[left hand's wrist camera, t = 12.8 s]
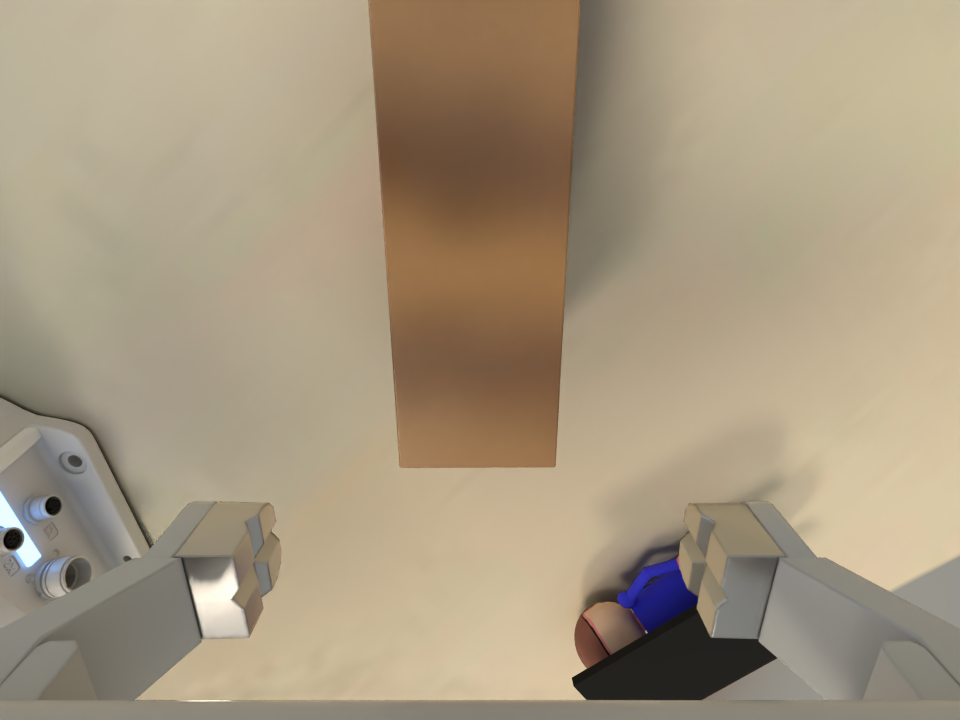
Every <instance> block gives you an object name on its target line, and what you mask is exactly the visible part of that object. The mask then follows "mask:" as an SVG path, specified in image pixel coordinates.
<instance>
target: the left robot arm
mask: <svg viewBox="0 0 960 720" xmlns="http://www.w3.org/2000/svg"><path fill="white" fill-rule="evenodd" d="M77 456H78V457H79V458H80V459H81V460H80V459H79V458H78V457H77ZM275 522H276V517H275V512H274V507H273V506H272V505H271V504H270V503H258V502H192V503H189V504H187V505H186V506H185V508H184V509H183V510H182V511H181V512H180V514H179V515H178V516H177V517H176V518H175V520H174V521H173V522H172V523H171V524H170V526H169V527H168V528H167V529H166V530H165V532H164V533H163V534H162V535H161V536H160V538H159V539H158V540H157V541H156V542H155V544H154V545H153V546H152V547H151V548H149V546H148V544H147V542H146V540H145V538H144V536H143V534H142V532H141V530H140V528H139V526H138V524H137V522H136V520H135V518H134V516H133V514H132V512H131V510H130V508H129V506H128V504H127V502H126V500H125V498H124V496H123V494H122V492H121V490H120V488H119V486H118V484H117V482H116V480H115V478H114V476H113V474H112V472H111V470H110V468H109V466H108V464H107V462H106V460H105V458H104V456H103V454H102V452H101V450H100V448H99V446H98V444H97V442H96V440H95V439H94V437H93V435H92V434H91V433H90V431H89V430H88V429H86V428H85V427H83V426H82V425H80V424H77V423H74V422H71V421H67V420H63V419H57V418H52V417H45V416H39V415H36V414H33V413H31V412H28V411H26V410H24V409H22V408H20V407H18V406H16V405H14V404H12V403H10V402H8V401H6V400H4V399H2V398H0V720H960V629H959V628H957V627H955V626H953V625H951V624H949V623H948V622H946V621H944V620H942V619H940V618H938V617H936V616H934V615H932V614H931V613H929V612H927V611H925V610H923V609H921V608H919V607H917V606H916V605H914V604H912V603H910V602H908V601H906V600H904V599H902V598H900V597H899V596H897V595H895V594H893V593H891V592H889V591H887V590H885V589H884V588H882V587H880V586H878V585H876V584H874V583H872V582H870V581H869V580H867V579H865V578H863V577H861V576H859V575H857V574H855V573H853V572H852V571H850V570H848V569H846V568H844V567H842V566H840V565H838V564H837V563H835V562H833V561H831V560H829V559H827V558H817V557H816V556H815V554H814V553H813V552H812V551H811V550H810V548H809V547H808V546H807V545H806V544H805V542H804V541H803V540H802V539H801V538H800V536H799V535H798V534H797V533H796V532H795V530H794V529H793V528H792V527H791V526H790V524H789V523H788V522H787V521H786V520H785V519H784V517H783V516H782V515H781V514H780V513H779V511H778V510H777V509H776V508H775V507H774V505H773V504H771V503H769V502H767V501H758V502H740V503H689V504H688V506H687V508H686V511H685V516H684V522H685V524H686V526H687V528H688V530H689V532H688V533H687V534H686V535H685V536H684V537H683V538H682V539H681V540H680V548H679V562H680V570H681V573H682V577H683V580H684V582H685V584H686V587H687V589H688V590H689V591H691V592H692V593H693V594H695V595H696V596H697V597H699V598H698V603H697V610H698V612H699V614H700V616H701V618H702V620H703V622H704V625H705V627H706V629H707V631H708V633H709V635H710V637H711V638H739V639H759V640H758V641H759V642H760V643H761V644H762V645H763V646H764V647H765V648H767V649H768V650H769V651H770V652H771V653H772V654H773V655H775V656H776V657H777V658H778V659H779V660H780V661H782V662H783V663H784V664H785V665H786V666H787V667H788V668H790V669H791V670H792V671H793V672H794V673H795V674H796V675H798V676H799V677H800V678H801V679H802V680H803V681H804V682H806V683H807V684H808V685H809V686H810V687H811V688H813V689H814V690H815V691H816V692H817V693H818V694H819V695H821V696H822V697H823V698H824V699H825V700H135V699H136V698H137V697H138V696H140V695H141V694H142V693H143V692H144V691H145V690H146V689H148V688H149V687H150V686H151V685H152V684H153V683H155V682H156V681H157V680H158V679H159V678H160V677H161V676H163V675H164V674H165V673H166V672H167V671H168V670H170V669H171V668H172V667H173V666H174V665H175V664H176V663H178V662H179V661H180V660H181V659H182V658H183V657H184V656H186V655H187V654H188V653H189V652H190V651H191V650H193V649H194V648H195V647H196V646H197V645H198V644H199V643H201V639H220V638H249V637H250V635H251V633H252V631H253V629H254V627H255V625H256V623H257V620H258V618H259V616H260V614H261V612H262V610H263V603H262V598H261V597H263V596H264V595H265V594H267V593H268V592H269V591H271V590H272V589H273V587H274V584H275V582H276V580H277V578H278V573H279V568H280V564H281V547H280V540H279V539H278V538H277V537H276V536H275V535H274V534H273V533H272V532H271V530H272V528H273V526H274V524H275Z"/></svg>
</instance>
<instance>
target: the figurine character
mask: <svg viewBox="0 0 960 720" xmlns="http://www.w3.org/2000/svg"><path fill="white" fill-rule="evenodd" d="M663 574H664V575H663ZM659 575H662V576H661V577H659V578H658V579H657V580H655V581H654V582H652V583H651V584H649V585H648V586H647V587H645V585H646V584H647V583H648V581H649V580H650V578H652V577H656V576H659ZM644 587H645V588H644ZM643 588H644V589H643ZM698 598H699V597H697V596H696V595H695V594H693V593H692V592H691V591H689V590H688V589H687V587H686V584H685V582H684V580H683V577H682V573H681V570H680V562H679V556H678V557H677V559H673V560H669V561H666V562H662V563H659V564H655V565H652V566H648V567H644V568H643V569H642V571H641V572H640V574H639V575H638V576H637V578H636V579H635V581H634V582H633V584H632V585H631V586H630V588H629V589H628V591H623V592H621V593H619V594H618V597H617V599H618V602H619V604H618V603H614V602H599V603H596V604H593V605H591V606H590V607H588V608H587V609H586V610H585V611H584V612H583V613H582V614H581V616H580V617H579V619H578V621H577V624H576V628H575V646H576V650H577V653H578V655H579V657H580V659H581V661H582V663H583V664H584V665H585V667H586V668H587V669H586V670H584V671H583V672H581V673H579V674H577V675H576V676H574V677H572V681H573V685H574V687H575V688H576V689H577V690H578V691H579V692H580V693H581V694H582V696H583V697H584V698H585V699H586V700H703V699H705V698H706V697H708V696H710V695H712V694H713V693H715V692H717V691H719V690H721V689H723V688H724V687H726V686H728V685H730V684H732V683H733V682H735V681H737V680H739V679H740V678H742V677H744V676H746V675H748V674H750V673H751V672H753V671H755V670H757V669H759V668H760V667H762V666H764V665H766V664H768V663H769V662H771V661H773V660H775V659H777V657H776V656H775V655H773V654H772V653H771V652H770V651H769V650H768V649H767V648H765V647H764V646H763V645H762V644H761V643H760V642H759V641H758V640H759V639H739V638H711V637H710V635H709V633H708V631H707V629H706V627H705V625H704V622H703V620H702V618H701V616H700V614H699V612H698V610H697V603H698ZM631 608H632V610H633V612H634V613H633V612H631V611H630V610H629V609H631ZM645 630H646V631H647V632H648V633H647V634H646V633H645Z"/></svg>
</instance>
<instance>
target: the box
mask: <svg viewBox="0 0 960 720" xmlns="http://www.w3.org/2000/svg"><path fill="white" fill-rule="evenodd" d="M580 1H581V0H368V3H369V18H370V33H371V48H372V63H373V78H374V93H375V107H376V122H377V137H378V152H379V167H380V182H381V197H382V212H383V227H384V242H385V256H386V271H387V286H388V301H389V316H390V331H391V346H392V361H393V376H394V390H395V405H396V420H397V435H398V450H399V465H400V467H401V468H470V467H555V465H556V449H557V431H558V412H559V393H560V375H561V356H562V337H563V319H564V300H565V281H566V263H567V244H568V225H569V206H570V188H571V169H572V150H573V132H574V113H575V94H576V76H577V57H578V38H579V20H580Z"/></svg>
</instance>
